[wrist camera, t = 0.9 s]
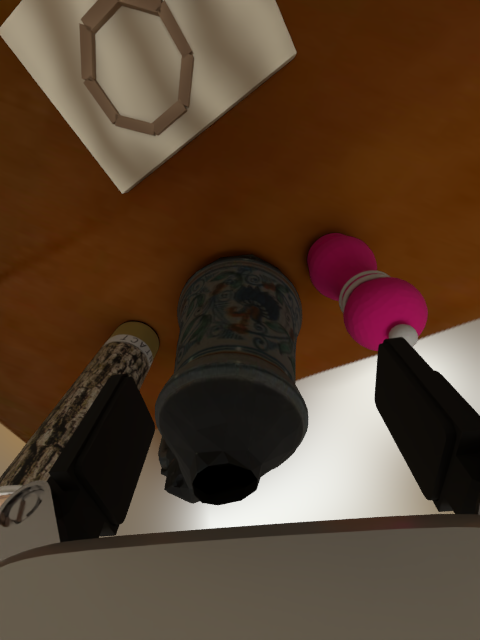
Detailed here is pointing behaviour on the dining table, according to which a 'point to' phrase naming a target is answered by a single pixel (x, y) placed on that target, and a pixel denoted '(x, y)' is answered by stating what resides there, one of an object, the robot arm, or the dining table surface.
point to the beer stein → (231, 382)
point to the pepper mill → (365, 292)
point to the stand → (146, 69)
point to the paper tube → (81, 403)
